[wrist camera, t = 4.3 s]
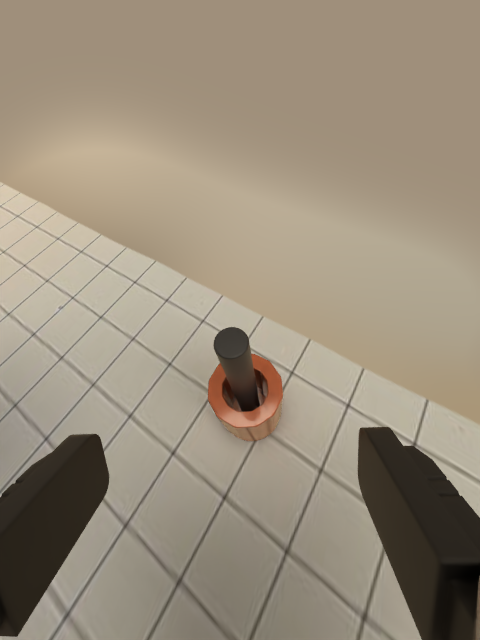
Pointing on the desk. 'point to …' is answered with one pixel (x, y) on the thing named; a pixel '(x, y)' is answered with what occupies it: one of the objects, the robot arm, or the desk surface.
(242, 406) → the dark grey rod
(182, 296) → the desk surface
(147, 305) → the desk surface
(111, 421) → the desk surface
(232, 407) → the pen holder
